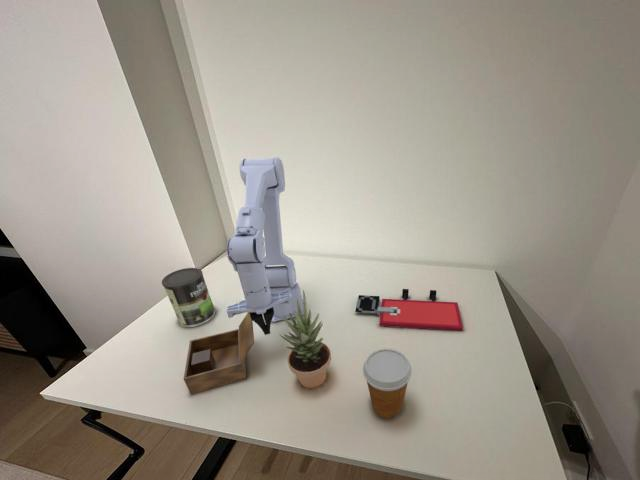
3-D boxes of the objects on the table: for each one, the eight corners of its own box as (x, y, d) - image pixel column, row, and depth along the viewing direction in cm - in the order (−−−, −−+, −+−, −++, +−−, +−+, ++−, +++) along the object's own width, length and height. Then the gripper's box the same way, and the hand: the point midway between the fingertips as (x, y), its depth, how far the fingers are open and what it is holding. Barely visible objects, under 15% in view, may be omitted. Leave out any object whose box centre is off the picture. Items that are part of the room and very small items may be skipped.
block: (215, 360, 79) (210, 348, 77) (214, 372, 76) (209, 360, 74) (197, 365, 78) (192, 353, 76) (196, 377, 75) (190, 365, 73)
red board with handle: (359, 294, 102) (352, 325, 90) (359, 286, 101) (352, 317, 88) (455, 298, 99) (462, 331, 86) (456, 291, 97) (463, 323, 85)
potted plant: (316, 402, 68) (300, 311, 56) (283, 384, 73) (262, 296, 60) (342, 370, 76) (333, 283, 63) (311, 356, 80) (297, 272, 67)
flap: (238, 326, 82) (240, 326, 82) (239, 361, 72) (241, 361, 72) (250, 309, 81) (251, 309, 81) (252, 342, 70) (254, 342, 71)
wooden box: (244, 342, 85) (239, 328, 83) (246, 378, 75) (241, 363, 72) (195, 355, 82) (189, 340, 79) (190, 394, 71) (183, 379, 69)
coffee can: (222, 307, 99) (209, 268, 92) (202, 329, 91) (186, 288, 83) (193, 304, 101) (178, 266, 94) (170, 325, 93) (152, 285, 85)
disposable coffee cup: (362, 388, 71) (360, 349, 65) (404, 384, 72) (406, 344, 65) (366, 427, 63) (364, 387, 57) (414, 423, 63) (417, 382, 57)
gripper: (220, 302, 66) (236, 350, 73) (290, 287, 70) (299, 334, 77) (221, 285, 72) (236, 331, 79) (286, 272, 76) (294, 317, 83)
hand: (267, 331), depth 78 cm, fingers closed
